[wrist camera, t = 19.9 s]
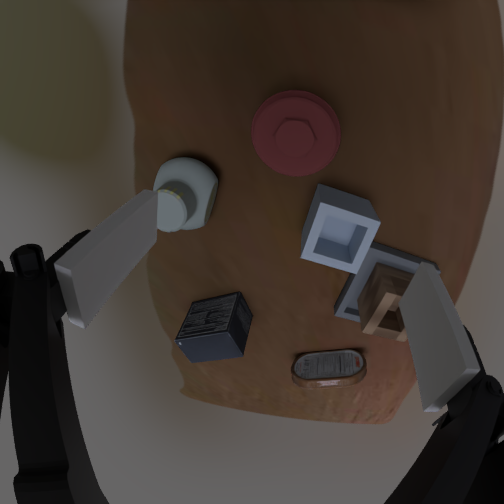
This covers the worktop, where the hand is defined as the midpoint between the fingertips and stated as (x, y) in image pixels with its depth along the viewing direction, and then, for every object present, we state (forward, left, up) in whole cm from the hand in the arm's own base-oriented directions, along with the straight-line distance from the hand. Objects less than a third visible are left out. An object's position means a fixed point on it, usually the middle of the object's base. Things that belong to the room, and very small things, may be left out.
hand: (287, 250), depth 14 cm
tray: (+18, +21, -30) cm, 40 cm away
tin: (+37, +18, -30) cm, 51 cm away
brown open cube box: (+17, +21, -29) cm, 40 cm away
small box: (+33, -5, -30) cm, 44 cm away
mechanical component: (-2, -1, -30) cm, 30 cm away
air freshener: (+11, -14, -30) cm, 35 cm away
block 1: (+9, +8, -30) cm, 32 cm away
